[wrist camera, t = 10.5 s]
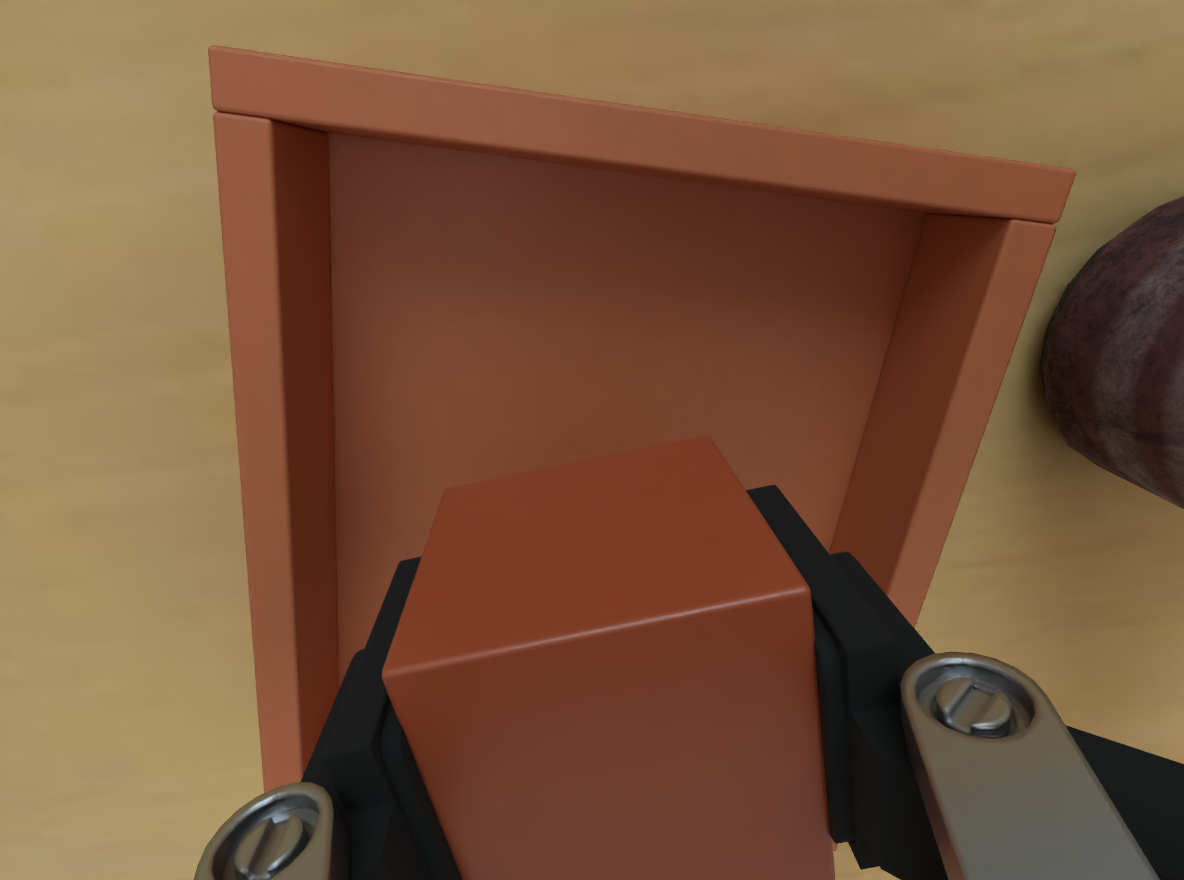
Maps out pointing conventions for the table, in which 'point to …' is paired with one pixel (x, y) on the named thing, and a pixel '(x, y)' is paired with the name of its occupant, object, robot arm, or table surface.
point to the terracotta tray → (584, 326)
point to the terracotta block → (615, 677)
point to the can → (1125, 355)
